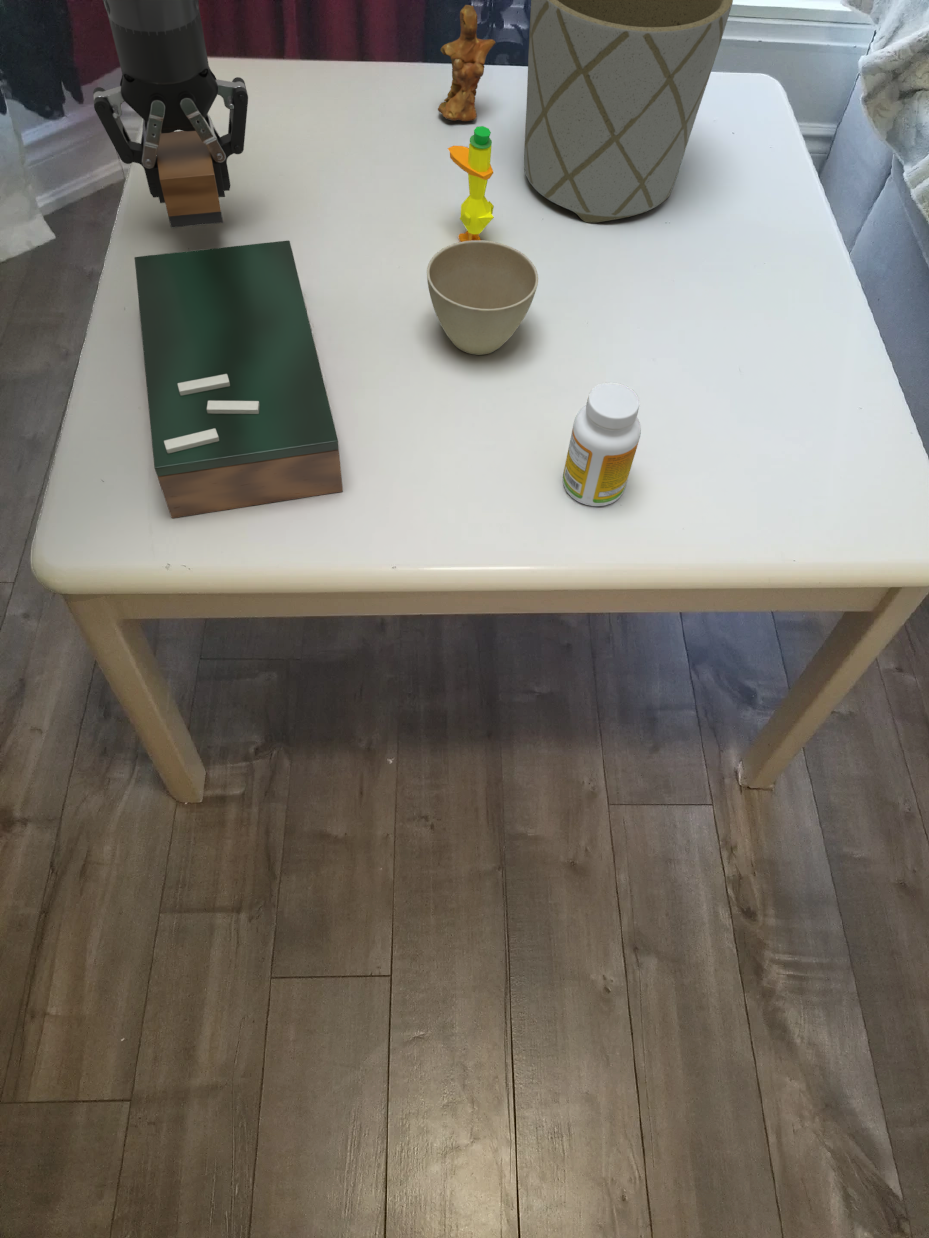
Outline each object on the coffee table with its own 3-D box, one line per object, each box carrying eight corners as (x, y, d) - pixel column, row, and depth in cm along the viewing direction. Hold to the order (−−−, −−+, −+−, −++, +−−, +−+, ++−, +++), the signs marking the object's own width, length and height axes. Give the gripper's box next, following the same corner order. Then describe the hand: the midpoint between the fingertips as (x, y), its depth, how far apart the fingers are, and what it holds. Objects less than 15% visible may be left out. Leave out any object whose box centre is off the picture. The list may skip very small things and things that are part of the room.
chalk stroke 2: (167, 454, 70) (166, 449, 69) (164, 445, 70) (163, 440, 70) (219, 441, 71) (218, 436, 70) (216, 432, 71) (215, 427, 71)
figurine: (479, 133, 107) (486, 21, 97) (432, 123, 108) (435, 11, 98) (490, 114, 110) (498, 3, 100) (445, 104, 110) (448, -7, 100)
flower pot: (510, 385, 84) (517, 322, 78) (409, 355, 86) (409, 291, 80) (542, 319, 90) (552, 256, 84) (447, 293, 91) (450, 228, 85)
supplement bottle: (630, 470, 79) (656, 386, 71) (616, 515, 76) (640, 432, 68) (571, 453, 80) (589, 368, 72) (554, 497, 77) (571, 413, 69)
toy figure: (435, 230, 97) (438, 116, 86) (460, 218, 98) (466, 104, 88) (478, 262, 94) (486, 148, 84) (503, 248, 95) (514, 135, 85)
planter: (716, 199, 102) (776, 1, 86) (583, 252, 96) (620, 50, 79) (609, 118, 110) (644, -77, 94) (480, 162, 104) (493, -39, 87)
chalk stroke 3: (207, 413, 72) (206, 409, 72) (208, 404, 73) (207, 400, 72) (258, 414, 72) (257, 409, 72) (259, 405, 73) (258, 400, 73)
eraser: (223, 223, 90) (214, 174, 86) (171, 228, 89) (159, 179, 85) (214, 177, 94) (205, 128, 90) (164, 181, 93) (153, 133, 89)
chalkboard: (171, 518, 74) (154, 468, 69) (150, 311, 87) (134, 256, 82) (342, 491, 76) (338, 441, 71) (296, 294, 90) (289, 239, 85)
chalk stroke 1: (180, 396, 73) (179, 391, 73) (178, 387, 74) (177, 383, 73) (230, 386, 74) (229, 381, 74) (227, 378, 75) (226, 373, 74)
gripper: (234, -18, 80) (259, 168, 94) (62, -10, 77) (115, 181, 91) (244, 22, 76) (269, 211, 90) (64, 33, 73) (119, 225, 88)
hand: (191, 195), depth 91 cm, fingers closed on eraser, 5 cm apart
